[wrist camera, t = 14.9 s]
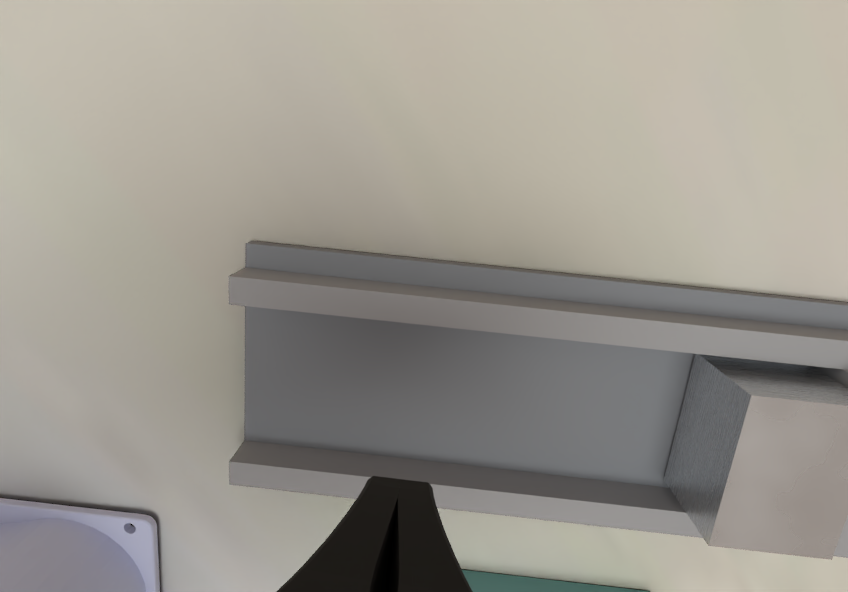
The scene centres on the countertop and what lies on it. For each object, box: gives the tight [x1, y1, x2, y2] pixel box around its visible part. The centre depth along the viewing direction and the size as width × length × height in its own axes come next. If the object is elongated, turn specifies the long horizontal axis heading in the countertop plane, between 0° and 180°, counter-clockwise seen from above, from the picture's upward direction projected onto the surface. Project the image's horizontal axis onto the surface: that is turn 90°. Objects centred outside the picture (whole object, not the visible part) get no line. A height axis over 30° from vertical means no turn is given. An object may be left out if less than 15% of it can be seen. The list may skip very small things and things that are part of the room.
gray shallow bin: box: [229, 241, 848, 558], centre depth 19 cm, size 22×10×4 cm, turn 84°
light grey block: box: [664, 354, 848, 560], centre depth 18 cm, size 4×5×4 cm
